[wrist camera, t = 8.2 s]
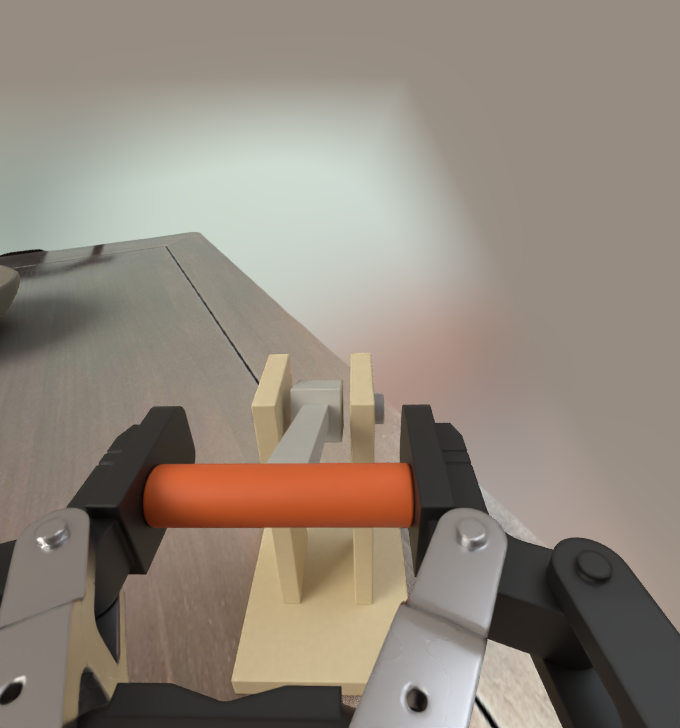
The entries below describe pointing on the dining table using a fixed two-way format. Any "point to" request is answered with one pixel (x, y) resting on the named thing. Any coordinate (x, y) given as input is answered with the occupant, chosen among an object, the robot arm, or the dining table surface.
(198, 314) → the dining table surface
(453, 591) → the robot arm
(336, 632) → the bracket
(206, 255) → the dining table surface
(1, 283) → the bowl
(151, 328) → the dining table surface
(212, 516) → the lever
